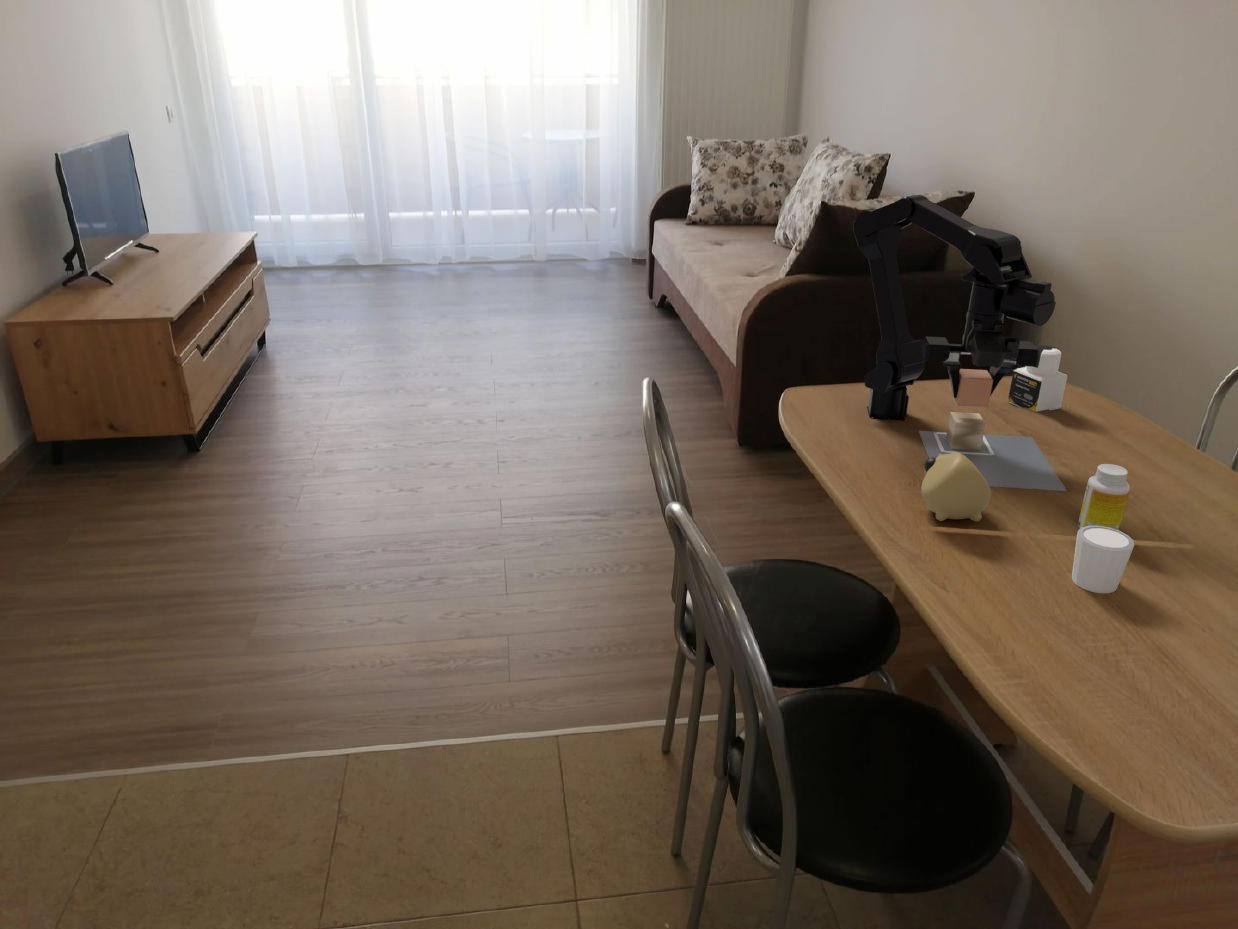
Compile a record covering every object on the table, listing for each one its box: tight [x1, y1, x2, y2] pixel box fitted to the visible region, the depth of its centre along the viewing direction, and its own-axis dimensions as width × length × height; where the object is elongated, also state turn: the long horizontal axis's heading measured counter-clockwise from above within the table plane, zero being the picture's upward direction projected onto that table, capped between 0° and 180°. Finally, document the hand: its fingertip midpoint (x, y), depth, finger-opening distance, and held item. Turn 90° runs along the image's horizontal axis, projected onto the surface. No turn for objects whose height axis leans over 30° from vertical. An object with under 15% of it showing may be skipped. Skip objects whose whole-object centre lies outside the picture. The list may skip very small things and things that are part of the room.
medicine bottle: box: [1007, 344, 1068, 413], centre depth 183 cm, size 7×7×12 cm
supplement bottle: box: [1077, 463, 1131, 531], centre depth 138 cm, size 6×6×10 cm
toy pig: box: [920, 452, 993, 522], centre depth 142 cm, size 10×12×11 cm
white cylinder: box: [1071, 526, 1135, 594], centre depth 125 cm, size 7×7×7 cm
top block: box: [953, 368, 993, 408], centre depth 163 cm, size 5×5×5 cm
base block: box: [946, 411, 986, 450], centre depth 166 cm, size 5×5×5 cm
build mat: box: [918, 430, 1068, 492], centre depth 162 cm, size 20×22×1 cm
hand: (970, 398), depth 164 cm, fingers closed on top block, 5 cm apart
